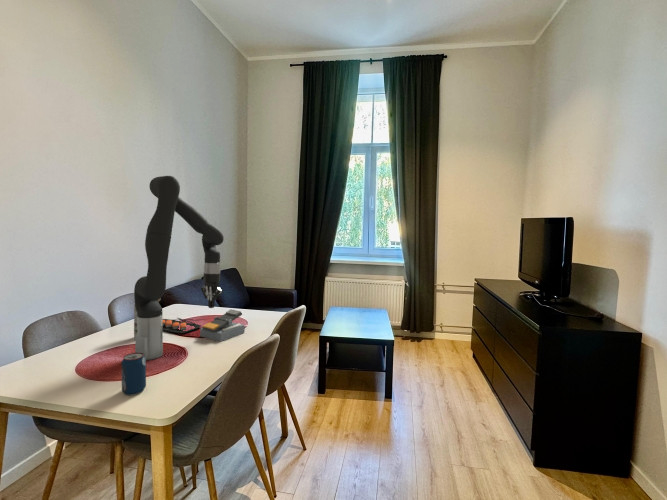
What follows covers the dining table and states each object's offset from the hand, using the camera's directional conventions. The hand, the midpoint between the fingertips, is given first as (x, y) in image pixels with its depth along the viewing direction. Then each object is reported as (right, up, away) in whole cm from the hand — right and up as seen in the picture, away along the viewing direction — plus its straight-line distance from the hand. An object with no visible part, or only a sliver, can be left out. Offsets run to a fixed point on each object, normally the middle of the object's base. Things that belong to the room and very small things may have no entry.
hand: (211, 307), depth 165 cm
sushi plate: (-24, -14, +24) cm, 36 cm away
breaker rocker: (+3, -8, +7) cm, 11 cm away
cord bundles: (+3, -11, +8) cm, 14 cm away
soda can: (-7, -19, -51) cm, 55 cm away
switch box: (+3, -15, +8) cm, 17 cm away
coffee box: (-32, -14, +2) cm, 35 cm away
